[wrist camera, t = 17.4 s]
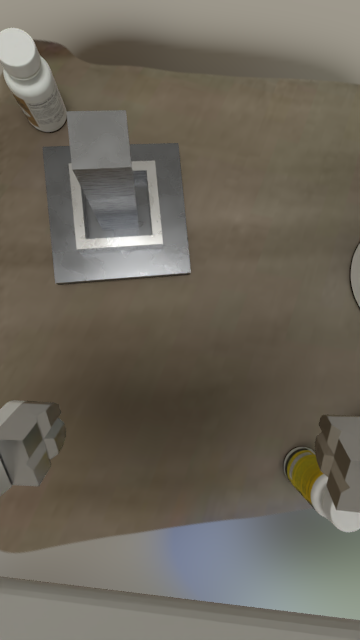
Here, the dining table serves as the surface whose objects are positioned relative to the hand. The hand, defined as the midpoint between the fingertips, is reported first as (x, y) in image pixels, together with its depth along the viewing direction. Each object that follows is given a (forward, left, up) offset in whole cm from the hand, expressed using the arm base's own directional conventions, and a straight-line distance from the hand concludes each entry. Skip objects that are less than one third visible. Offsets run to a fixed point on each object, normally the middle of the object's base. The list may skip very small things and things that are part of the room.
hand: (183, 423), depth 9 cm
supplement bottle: (-16, +16, -24) cm, 33 cm away
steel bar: (+3, -16, -23) cm, 28 cm away
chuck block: (+3, -16, -24) cm, 29 cm away
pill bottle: (+10, -28, -24) cm, 38 cm away
